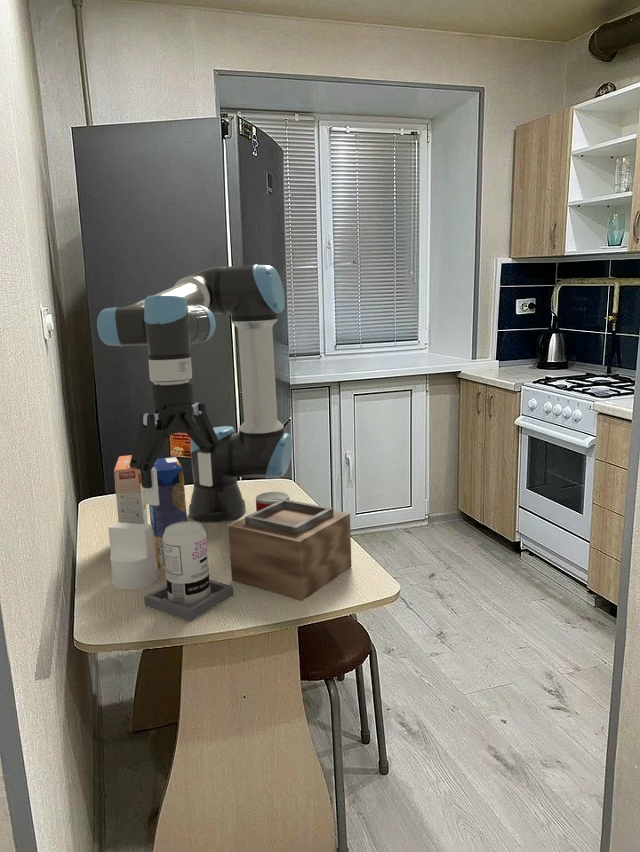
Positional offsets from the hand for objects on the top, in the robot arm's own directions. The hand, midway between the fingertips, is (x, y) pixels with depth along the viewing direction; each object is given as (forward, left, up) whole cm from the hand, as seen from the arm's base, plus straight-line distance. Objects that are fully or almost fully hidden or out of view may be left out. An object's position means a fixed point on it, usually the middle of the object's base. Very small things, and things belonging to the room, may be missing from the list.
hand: (180, 494), depth 123 cm
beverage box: (-13, -19, -22) cm, 32 cm away
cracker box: (-14, -32, -22) cm, 41 cm away
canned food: (-33, -5, -22) cm, 40 cm away
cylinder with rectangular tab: (-1, -17, -22) cm, 28 cm away
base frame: (0, 0, -22) cm, 22 cm away
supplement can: (0, 0, -22) cm, 22 cm away
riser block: (-20, +10, -22) cm, 31 cm away
